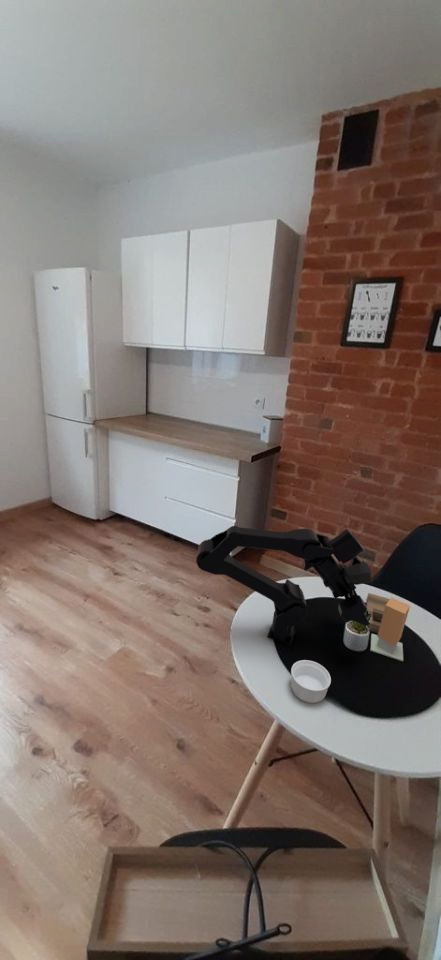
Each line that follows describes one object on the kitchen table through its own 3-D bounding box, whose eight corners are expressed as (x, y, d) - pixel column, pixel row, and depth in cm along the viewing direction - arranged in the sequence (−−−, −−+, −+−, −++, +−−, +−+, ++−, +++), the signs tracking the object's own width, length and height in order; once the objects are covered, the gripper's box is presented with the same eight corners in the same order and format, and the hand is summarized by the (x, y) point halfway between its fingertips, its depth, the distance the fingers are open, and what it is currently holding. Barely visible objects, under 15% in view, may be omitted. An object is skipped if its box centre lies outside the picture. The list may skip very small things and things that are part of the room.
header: (394, 638, 109) (396, 631, 108) (364, 629, 111) (366, 621, 111) (393, 607, 123) (394, 600, 122) (366, 599, 126) (368, 592, 125)
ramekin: (286, 698, 86) (288, 683, 85) (290, 669, 94) (293, 655, 93) (326, 711, 84) (330, 695, 83) (328, 680, 92) (331, 666, 91)
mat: (402, 661, 100) (403, 660, 100) (370, 650, 103) (370, 649, 103) (401, 644, 107) (402, 643, 107) (371, 634, 109) (371, 633, 109)
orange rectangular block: (392, 655, 102) (404, 613, 98) (374, 645, 104) (385, 605, 100) (398, 646, 105) (410, 605, 101) (380, 637, 108) (391, 597, 104)
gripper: (367, 575, 88) (403, 621, 92) (348, 537, 106) (379, 577, 109) (325, 599, 91) (362, 643, 94) (314, 558, 109) (345, 597, 112)
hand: (363, 613), depth 102 cm, fingers open, 9 cm apart
